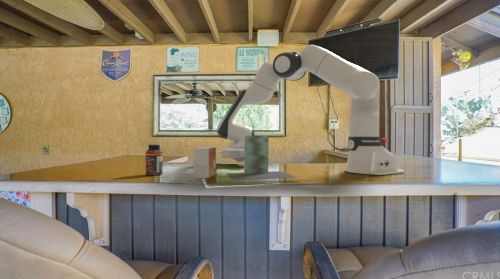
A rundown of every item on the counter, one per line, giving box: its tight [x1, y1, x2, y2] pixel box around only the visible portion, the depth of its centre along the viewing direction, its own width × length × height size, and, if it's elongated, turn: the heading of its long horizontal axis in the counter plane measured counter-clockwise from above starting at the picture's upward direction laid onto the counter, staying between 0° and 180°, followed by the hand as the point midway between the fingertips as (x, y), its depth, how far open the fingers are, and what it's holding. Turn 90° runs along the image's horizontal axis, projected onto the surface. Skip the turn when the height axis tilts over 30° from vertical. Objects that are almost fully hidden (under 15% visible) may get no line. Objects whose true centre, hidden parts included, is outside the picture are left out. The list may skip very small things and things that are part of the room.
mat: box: [225, 170, 298, 181], centre depth 100 cm, size 22×16×1 cm
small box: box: [193, 146, 217, 180], centre depth 99 cm, size 8×6×10 cm
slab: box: [243, 135, 269, 174], centre depth 105 cm, size 9×1×14 cm, turn 104°
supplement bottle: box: [145, 143, 163, 177], centre depth 105 cm, size 6×6×11 cm
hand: (247, 154), depth 118 cm, fingers closed
